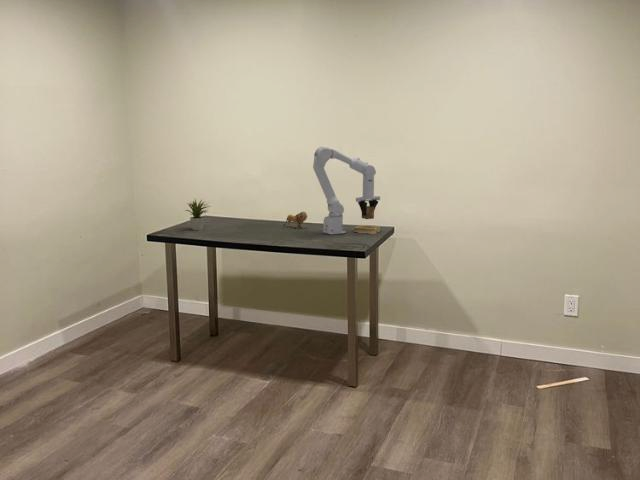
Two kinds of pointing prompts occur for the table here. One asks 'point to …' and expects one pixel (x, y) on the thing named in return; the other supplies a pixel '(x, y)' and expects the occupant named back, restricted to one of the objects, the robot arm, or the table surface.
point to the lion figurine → (296, 219)
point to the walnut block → (369, 213)
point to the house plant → (197, 215)
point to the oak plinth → (367, 229)
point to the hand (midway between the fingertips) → (367, 214)
